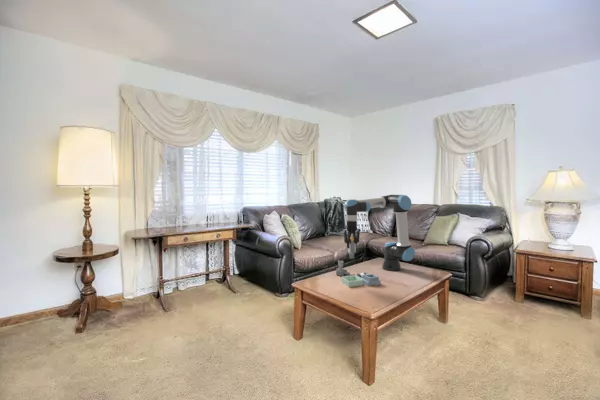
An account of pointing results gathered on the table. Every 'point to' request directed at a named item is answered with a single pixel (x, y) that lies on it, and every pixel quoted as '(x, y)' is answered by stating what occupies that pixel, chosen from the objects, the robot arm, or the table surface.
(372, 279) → the block
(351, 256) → the orange and grey cylinder
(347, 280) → the tray
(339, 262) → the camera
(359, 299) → the table surface
